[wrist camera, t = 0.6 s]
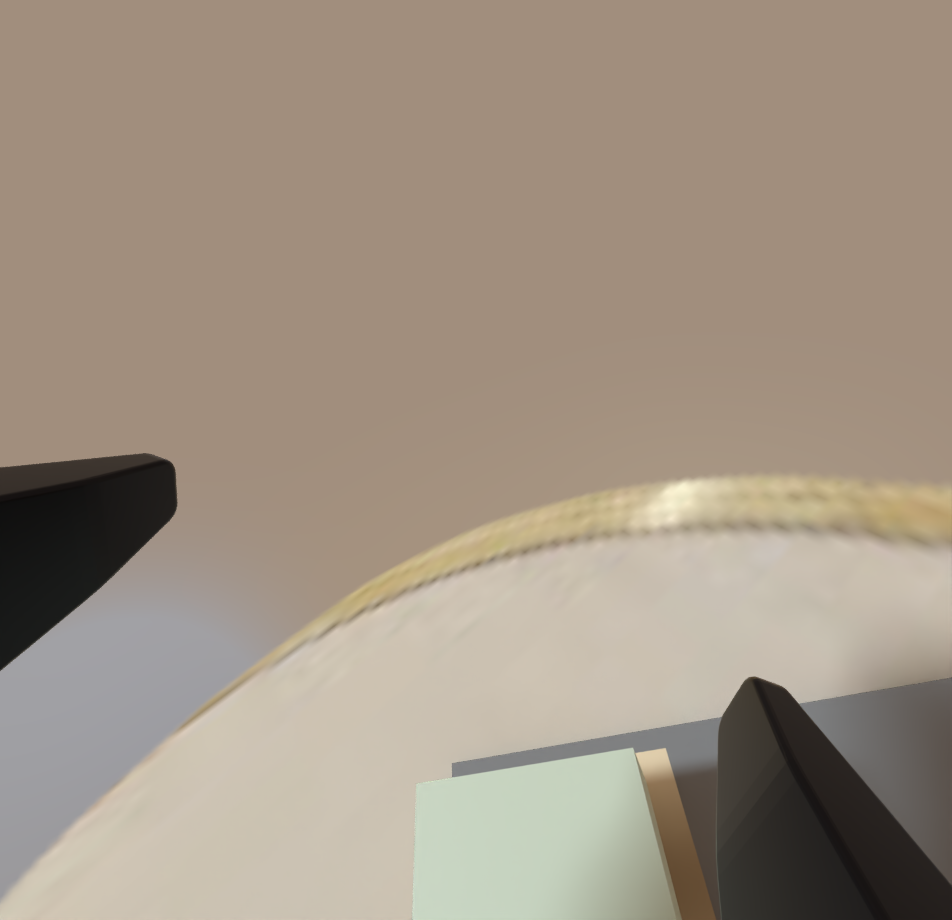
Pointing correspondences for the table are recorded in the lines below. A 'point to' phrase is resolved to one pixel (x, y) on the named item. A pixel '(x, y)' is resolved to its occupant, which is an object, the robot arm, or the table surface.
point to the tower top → (542, 844)
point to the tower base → (676, 837)
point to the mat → (847, 727)
